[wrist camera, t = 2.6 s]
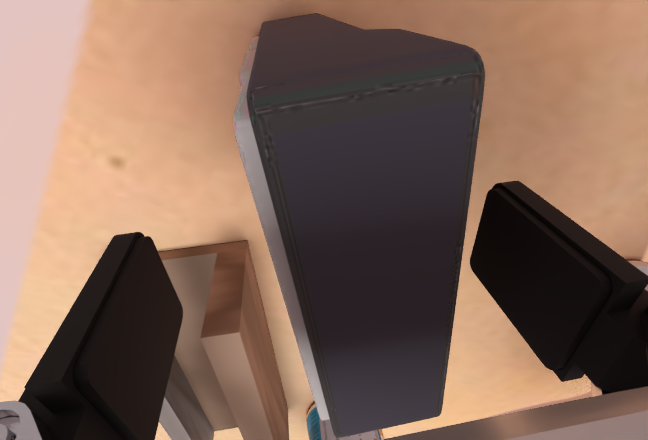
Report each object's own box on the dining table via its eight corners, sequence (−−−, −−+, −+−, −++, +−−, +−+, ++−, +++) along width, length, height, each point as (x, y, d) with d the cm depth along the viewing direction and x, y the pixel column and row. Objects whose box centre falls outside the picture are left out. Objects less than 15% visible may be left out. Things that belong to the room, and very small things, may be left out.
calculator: (245, 24, 17) (184, 102, 4) (329, 10, 17) (495, 47, 5) (288, 206, 23) (312, 450, 11) (349, 195, 23) (442, 421, 11)
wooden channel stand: (247, 240, 24) (239, 332, 17) (287, 409, 38) (291, 496, 31) (110, 258, 23) (47, 361, 17) (201, 423, 37) (187, 517, 30)
